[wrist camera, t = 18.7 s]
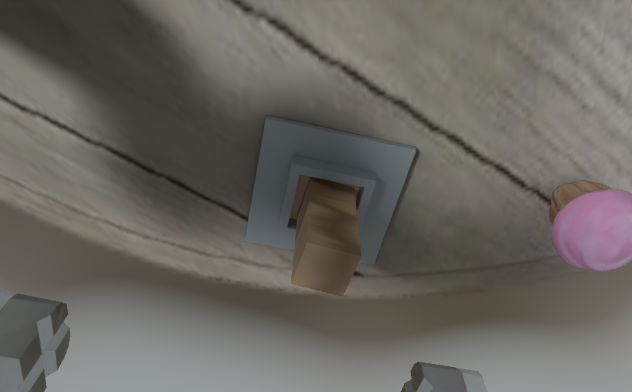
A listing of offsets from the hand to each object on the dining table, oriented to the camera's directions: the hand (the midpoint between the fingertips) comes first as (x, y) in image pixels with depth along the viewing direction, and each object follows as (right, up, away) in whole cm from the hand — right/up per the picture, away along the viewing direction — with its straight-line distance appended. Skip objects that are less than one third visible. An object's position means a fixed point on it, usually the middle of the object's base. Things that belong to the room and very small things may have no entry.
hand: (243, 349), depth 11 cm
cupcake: (+30, +4, +41) cm, 51 cm away
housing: (+3, +4, +41) cm, 41 cm away
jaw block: (+3, +3, +40) cm, 41 cm away
